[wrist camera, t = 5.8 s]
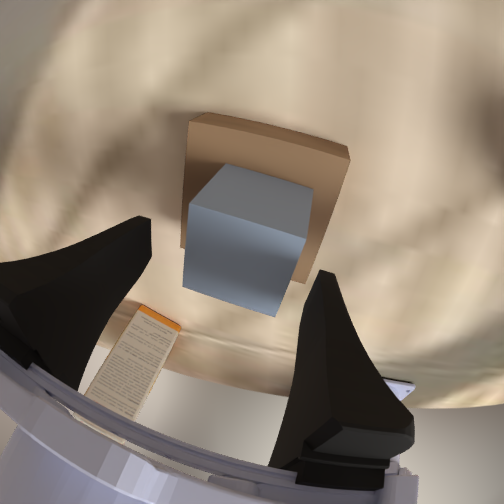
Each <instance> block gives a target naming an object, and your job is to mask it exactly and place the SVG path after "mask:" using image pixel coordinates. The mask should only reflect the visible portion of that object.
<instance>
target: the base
mask: <svg viewBox="0 0 504 504" xmlns="http://www.w3.org/2000/svg"><path fill="white" fill-rule="evenodd" d="M349 163H350V156H349V152H348V147H347V146H344V145H341V144H338V143H335V142H332V141H328V140H325V139H322V138H318V137H315V136H311V135H308V134H304V133H300V132H297V131H293V130H289V129H285V128H281V127H277V126H273V125H269V124H264V123H260V122H255V121H251V120H246V119H241V118H236V117H231V116H226V115H220V114H215V113H209V112H207V113H205V114H203V115H201V116H199V117H197V118H194V119H192V120H190V121H189V127H188V136H187V147H186V158H185V171H184V184H183V200H182V218H181V243H180V248H184V249H185V244H186V233H187V222H188V212H189V203H190V202H191V201H192V200H193V199H194V198H195V196H196V195H197V194H198V193H199V192H200V191H201V190H202V189H203V188H204V186H205V185H206V184H207V183H208V182H209V181H210V180H211V179H212V178H213V177H214V176H215V175H216V174H217V172H218V171H219V170H220V169H221V168H222V167H223V166H224V165H225V164H230V165H234V166H237V167H241V168H245V169H248V170H252V171H255V172H259V173H262V174H266V175H269V176H273V177H276V178H279V179H282V180H286V181H289V182H292V183H295V184H299V185H302V186H305V187H308V188H311V189H314V190H313V198H312V205H311V212H310V219H309V226H308V233H307V239H306V242H305V244H304V247H303V250H302V252H301V255H300V257H299V260H298V262H297V265H296V267H295V270H294V272H293V275H292V277H291V280H292V281H296V282H299V283H303V284H305V283H306V281H307V278H308V276H309V273H310V271H311V268H312V266H313V263H314V261H315V258H316V255H317V253H318V250H319V248H320V245H321V242H322V240H323V237H324V234H325V232H326V229H327V226H328V224H329V221H330V218H331V215H332V213H333V210H334V207H335V204H336V202H337V199H338V196H339V193H340V190H341V187H342V184H343V181H344V178H345V175H346V172H347V170H348V167H349Z"/></svg>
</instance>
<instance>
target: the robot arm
mask: <svg viewBox="0 0 504 504" xmlns="http://www.w3.org/2000/svg"><path fill="white" fill-rule="evenodd" d="M151 257H152V247H151V219H149V218H146V217H142V216H136V217H134V218H131V219H129V220H127V221H124V222H122V223H120V224H118V225H116V226H114V227H112V228H109V229H107V230H105V231H103V232H101V233H99V234H97V235H94V236H92V237H90V238H87V239H85V240H83V241H81V242H78V243H76V244H73V245H71V246H68V247H65V248H62V249H60V250H57V251H54V252H50V253H46V254H43V255H39V256H36V257H32V258H27V259H22V260H17V261H11V262H2V263H0V409H1V410H2V411H3V412H5V413H6V414H7V415H8V416H9V417H10V418H11V419H12V420H13V421H15V422H16V423H17V424H18V426H17V427H16V429H15V431H14V433H13V434H12V436H11V438H10V440H9V442H8V443H7V445H6V447H5V449H4V451H3V453H2V455H1V457H0V504H417V497H418V481H419V476H418V475H412V473H411V472H410V471H409V470H407V468H400V465H399V459H400V454H401V453H403V452H405V451H406V450H408V449H409V448H410V447H411V446H412V445H413V444H414V435H415V430H414V429H415V426H414V417H413V415H412V414H411V413H410V412H409V410H408V409H407V408H406V407H405V406H404V405H403V404H402V403H401V400H402V399H403V398H405V397H406V396H407V395H408V394H409V393H411V392H412V391H413V390H414V389H415V385H414V384H411V383H404V382H399V381H393V380H387V379H383V378H382V377H381V375H380V374H379V372H378V371H377V369H376V367H375V366H374V364H373V363H372V361H371V360H370V358H369V356H368V354H367V352H366V351H365V349H364V347H363V345H362V343H361V341H360V339H359V337H358V335H357V333H356V330H355V328H354V326H353V323H352V321H351V319H350V316H349V313H348V311H347V308H346V306H345V303H344V300H343V297H342V294H341V291H340V288H339V285H338V282H337V279H336V276H335V274H334V273H330V272H327V271H324V270H319V272H318V275H317V277H316V279H315V282H314V284H313V286H312V288H311V291H310V293H309V295H308V297H307V300H306V302H305V304H304V308H303V313H302V317H301V322H300V327H299V336H298V345H297V354H296V362H295V371H294V377H293V383H292V387H291V391H290V395H289V399H288V403H287V407H286V410H285V414H284V417H283V421H282V424H281V428H280V431H279V434H278V438H277V441H276V444H275V447H274V450H273V453H272V456H271V458H270V461H269V464H268V466H263V465H258V464H254V463H250V462H246V461H243V460H238V459H235V458H232V457H228V456H225V455H221V454H218V453H215V452H211V451H208V450H205V449H202V448H199V447H196V446H193V445H191V444H188V443H185V442H182V441H180V440H177V439H174V438H172V437H169V436H167V435H164V434H161V433H159V432H157V431H154V430H152V429H150V428H147V427H145V426H143V425H141V424H138V423H136V422H134V421H132V420H130V419H128V418H126V417H124V416H122V415H120V414H118V413H116V412H114V411H112V410H110V409H108V408H106V407H104V406H102V405H100V404H98V403H97V402H95V401H93V400H91V399H89V398H88V397H86V396H84V395H82V394H81V393H79V392H77V391H78V388H79V385H80V382H81V379H82V376H83V373H84V371H85V368H86V366H87V363H88V361H89V359H90V356H91V354H92V351H93V349H94V347H95V345H96V343H97V341H98V339H99V337H100V335H101V333H102V331H103V329H104V328H105V326H106V324H107V322H108V320H109V318H110V317H111V315H112V314H113V312H114V311H115V309H116V308H117V307H118V305H119V304H120V303H121V301H122V300H123V299H124V297H125V296H126V295H127V293H128V292H129V291H130V289H131V288H132V287H133V285H134V284H135V283H136V281H137V280H138V279H139V277H140V276H141V275H142V273H143V271H144V269H145V268H146V266H147V264H148V262H149V261H150V259H151ZM57 401H58V402H59V403H58V402H57ZM60 403H61V404H62V405H64V406H66V407H67V408H69V409H70V410H72V411H74V412H75V413H77V414H79V415H80V416H82V417H84V418H85V419H87V420H89V421H90V422H92V423H94V424H96V425H98V426H99V427H101V428H103V429H105V430H107V431H109V432H111V433H113V434H115V435H117V436H119V437H121V438H123V439H125V440H127V441H129V442H131V443H133V444H135V445H137V446H140V447H142V448H144V449H146V450H149V451H151V452H153V453H156V454H158V455H161V456H163V457H166V458H168V459H171V460H173V461H176V462H179V463H182V464H184V465H187V466H190V467H193V468H196V469H199V470H202V471H205V472H208V473H211V474H215V475H211V476H209V478H208V481H204V480H202V479H199V478H196V477H194V476H191V475H188V474H186V473H183V472H181V471H179V470H176V469H174V468H171V467H169V466H167V465H164V464H162V463H160V462H158V461H155V460H153V459H151V458H149V457H146V456H145V455H143V454H140V453H139V452H137V451H134V450H132V449H130V448H128V447H126V446H124V445H122V444H120V443H118V442H117V441H115V440H113V439H111V438H109V437H107V436H105V435H103V434H101V433H100V432H98V431H96V430H94V429H92V428H90V427H89V426H87V425H85V424H83V423H82V422H80V421H78V420H76V419H74V417H73V416H72V415H71V414H70V413H69V411H68V410H67V409H66V408H65V407H64V406H62V405H61V404H60ZM216 475H218V476H216Z"/></svg>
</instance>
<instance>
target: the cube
mask: <svg viewBox="0 0 504 504" xmlns="http://www.w3.org/2000/svg"><path fill="white" fill-rule="evenodd" d="M313 190H314V189H311V188H308V187H305V186H302V185H299V184H295V183H292V182H289V181H286V180H282V179H279V178H276V177H273V176H269V175H266V174H262V173H259V172H255V171H252V170H248V169H245V168H241V167H237V166H234V165H230V164H225V165H224V166H223V167H222V168H221V169H220V170H219V171H218V172H217V174H216V175H215V176H214V177H213V178H212V179H211V180H210V181H209V182H208V183H207V184H206V185H205V186H204V188H203V189H202V190H201V191H200V192H199V193H198V194H197V195H196V196H195V198H194V199H193V200H192V201H191V202H190V203H189V212H188V222H187V233H186V244H185V257H184V271H183V286H182V287H185V288H188V289H191V290H194V291H196V292H199V293H202V294H205V295H208V296H211V297H214V298H217V299H220V300H223V301H226V302H229V303H232V304H235V305H238V306H241V307H244V308H247V309H250V310H253V311H256V312H260V313H263V314H266V315H269V316H272V317H275V316H276V314H277V311H278V309H279V307H280V304H281V302H282V299H283V297H284V295H285V292H286V290H287V287H288V285H289V282H290V280H291V277H292V275H293V272H294V270H295V267H296V265H297V262H298V260H299V257H300V255H301V252H302V250H303V247H304V244H305V242H306V239H307V233H308V226H309V219H310V212H311V205H312V198H313Z"/></svg>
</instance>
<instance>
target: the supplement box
mask: <svg viewBox="0 0 504 504" xmlns="http://www.w3.org/2000/svg"><path fill="white" fill-rule="evenodd" d="M180 329H181V326H179V325H177V324H176V323H174V322H172V321H170V320H169V319H167V318H165V317H163V316H161V315H160V314H158V313H156V312H154V311H152V310H151V309H149V308H147V307H145V306H144V305H141V306H140V307H139V309H138V310H137V311H136V313H135V314H134V316H133V317H132V319H131V320H130V322H129V323H128V325H127V327H126V328H125V330H124V331H123V333H122V334H121V336H120V337H119V339H118V340H117V342H116V343H115V345H114V347H113V348H112V350H111V351H110V353H109V355H108V356H107V358H106V359H105V361H104V363H103V364H102V366H101V368H100V369H99V371H98V373H97V374H96V376H95V378H94V379H93V381H92V382H91V384H90V386H89V388H88V389H87V391H86V393H85V394H84V396H86V397H88V398H89V399H91V400H93V401H95V402H97V403H98V404H100V405H102V406H104V407H106V408H108V409H110V410H112V411H114V412H116V413H118V414H120V415H122V416H124V417H126V418H128V419H130V420H132V421H134V422H135V421H136V419H137V417H138V415H139V413H140V410H141V409H142V407H143V405H144V403H145V400H146V399H147V397H148V395H149V393H150V391H151V389H152V387H153V384H154V383H155V381H156V379H157V377H158V375H159V373H160V371H161V369H162V367H163V365H164V363H165V361H166V359H167V357H168V355H169V353H170V351H171V349H172V347H173V344H174V342H175V340H176V338H177V336H178V334H179V332H180ZM73 415H74V417H75V419H76V420H78V421H80V422H82V423H83V424H85V425H87V426H89V427H90V428H92V429H94V430H96V431H98V432H100V433H101V434H103V435H105V436H107V437H109V438H111V439H113V440H115V441H117V442H118V443H120V444H122V445H124V443H125V441H126V440H125V439H123V438H121V437H119V436H117V435H115V434H113V433H111V432H109V431H107V430H105V429H103V428H101V427H99V426H98V425H96V424H94V423H92V422H90V421H89V420H87V419H85V418H84V417H82V416H80V415H79V414H77V413H75V412H74V413H73Z"/></svg>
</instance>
